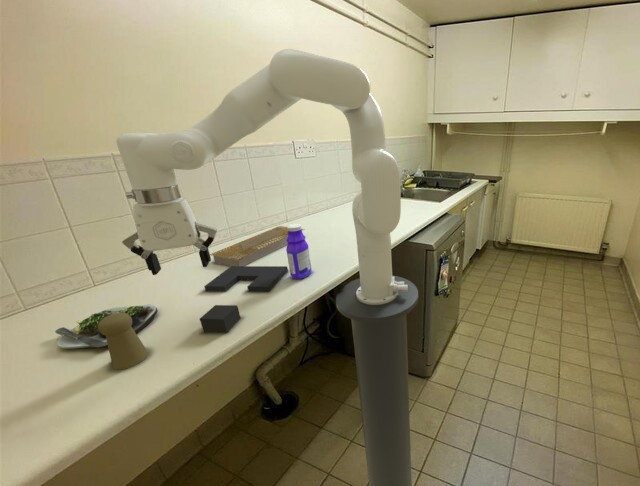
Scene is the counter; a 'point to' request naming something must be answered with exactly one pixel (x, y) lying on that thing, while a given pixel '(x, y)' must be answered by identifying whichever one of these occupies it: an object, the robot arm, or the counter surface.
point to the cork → (122, 341)
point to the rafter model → (252, 253)
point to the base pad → (248, 278)
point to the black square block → (220, 318)
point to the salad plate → (88, 328)
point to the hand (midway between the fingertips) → (182, 268)
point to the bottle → (298, 252)
